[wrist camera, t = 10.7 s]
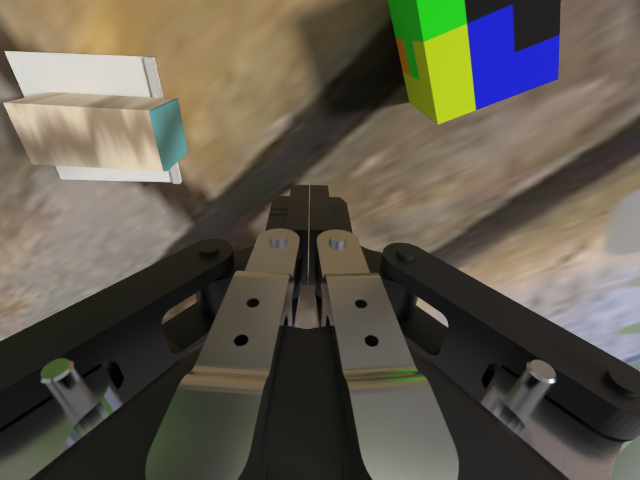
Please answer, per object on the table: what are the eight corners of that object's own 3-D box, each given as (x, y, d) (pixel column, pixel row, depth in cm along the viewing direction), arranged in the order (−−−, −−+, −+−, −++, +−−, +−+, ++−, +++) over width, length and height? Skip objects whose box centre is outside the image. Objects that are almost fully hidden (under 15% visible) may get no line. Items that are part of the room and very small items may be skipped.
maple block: (177, 98, 35) (49, 91, 35) (152, 110, 30) (2, 102, 30) (188, 152, 38) (70, 146, 38) (166, 171, 33) (31, 164, 33)
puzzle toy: (499, 66, 35) (558, 79, 27) (409, 102, 37) (437, 124, 28) (492, -48, 30) (563, -77, 21) (387, 0, 31) (414, -9, 23)
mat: (6, 51, 33) (0, 51, 32) (154, 56, 33) (151, 57, 33) (62, 178, 41) (58, 180, 40) (181, 181, 41) (179, 183, 41)
